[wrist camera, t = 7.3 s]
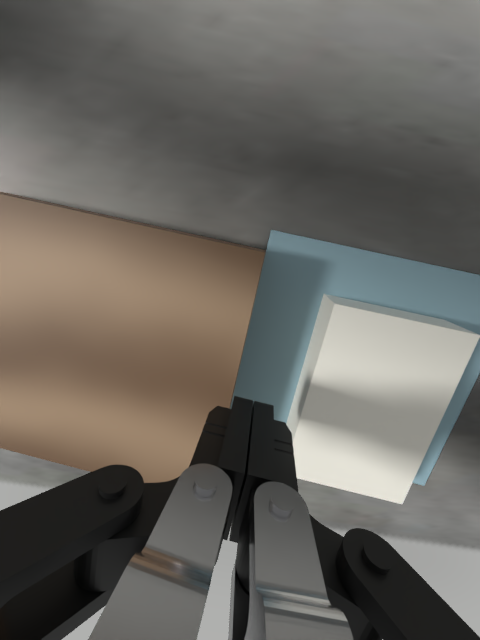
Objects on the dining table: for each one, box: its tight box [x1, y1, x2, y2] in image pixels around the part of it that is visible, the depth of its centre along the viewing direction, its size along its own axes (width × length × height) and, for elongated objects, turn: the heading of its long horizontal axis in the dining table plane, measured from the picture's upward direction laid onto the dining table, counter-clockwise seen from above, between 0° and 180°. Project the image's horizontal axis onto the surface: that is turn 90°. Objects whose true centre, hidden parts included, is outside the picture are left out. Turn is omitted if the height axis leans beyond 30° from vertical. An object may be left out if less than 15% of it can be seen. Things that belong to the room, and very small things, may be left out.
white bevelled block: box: [286, 294, 480, 504], centre depth 14 cm, size 9×6×2 cm, turn 169°
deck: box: [0, 192, 266, 483], centre depth 14 cm, size 12×14×4 cm
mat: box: [230, 230, 480, 486], centre depth 15 cm, size 12×12×1 cm
